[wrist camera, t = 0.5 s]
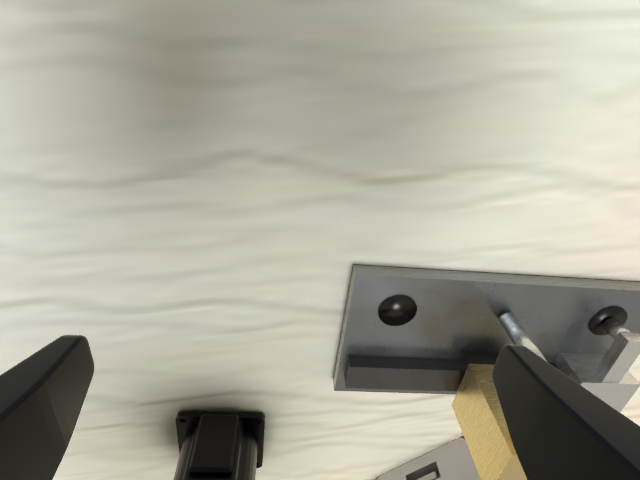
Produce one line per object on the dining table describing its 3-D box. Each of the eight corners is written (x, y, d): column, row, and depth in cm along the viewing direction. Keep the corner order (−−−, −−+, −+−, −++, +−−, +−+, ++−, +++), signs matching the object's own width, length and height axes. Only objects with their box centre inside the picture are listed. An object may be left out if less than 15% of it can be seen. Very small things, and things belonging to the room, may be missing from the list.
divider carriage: (500, 394, 29) (554, 497, 23) (447, 392, 28) (487, 497, 22) (540, 314, 25) (617, 412, 19) (479, 311, 25) (538, 410, 19)
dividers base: (589, 387, 31) (621, 428, 28) (333, 379, 29) (337, 422, 26) (657, 283, 26) (704, 319, 23) (353, 264, 24) (361, 301, 21)
